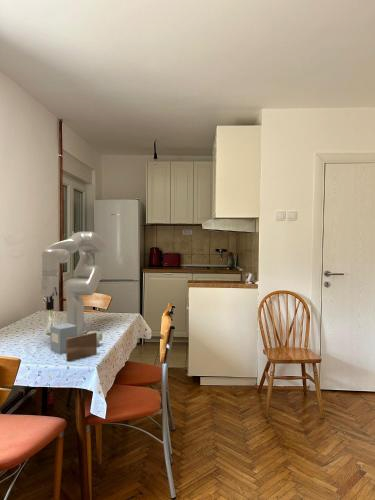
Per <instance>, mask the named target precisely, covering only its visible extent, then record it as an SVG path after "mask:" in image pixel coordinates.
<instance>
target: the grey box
mask: <svg viewBox="0 0 375 500" xmlns="http://www.w3.org/2000/svg"><path fill="white" fill-rule="evenodd" d="M76 336H78V335H77V326H76V325H72V324H69V323H67V322H66V323H60V324H55V325H50V351H51V352H53V353H56V354H58V355H63V353H64V354H66V338H71V337H76Z"/></svg>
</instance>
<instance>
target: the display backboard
mask: <svg viewBox="0 0 375 500" xmlns="http://www.w3.org/2000/svg"><path fill="white" fill-rule="evenodd" d="M97 348H98V347H97V333H96V332H94V333H90V334H87V333H85V334H81V335H77V336H76V337H71V338H66V353H65V354H66V356H65V359H66V362H71V361H75V360H79V359H82V358H86V357H90V356H93V355H97V354H98V352H97V351H98V350H97Z"/></svg>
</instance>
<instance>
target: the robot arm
mask: <svg viewBox="0 0 375 500" xmlns="http://www.w3.org/2000/svg"><path fill="white" fill-rule="evenodd" d="M106 245H107V244H106V241H105V240H104V238H102V237H101V236H100V235H99V234H98V233H96V232H94V231H77V232H76V233H74V234H73V235H70V237H68V238H67V239H64V240H61V241H58V242H55V243H53V244H51V245H49V246H47V247H46V248H44V250H42V251H41V252H42V253H41V261H42V262H41V265H42V266H41V270H42V271H41V273H42V274H41V281H40V295H41V296H42V297H44V298H45V302H46V303H45V305H46V306H45V307H46V308H45V310H47V311H50V310H54V309H55V308H54V307H55V304H54V303H55V300H56V299H57V297H58V295H59V280H58V276H59V264H66V263H67V262H69V260H71V254H75V253H76V252H78V254H79V261H77V262H78V263H77V265H76V266H75V269H74V271H73V277H74V278H69V279H68V280H66V282H64V290H65V291H64V292H65V297H66V298H65V299H66V323H69V324H72V325H76V326H77V336H80V335H85V334H87V332H88V330H87V329H86V328H85V303H84V299H83V297H82V296H92V295H94V293H95V292H96V290H97V288H98V286H99V283H100V280H101V277H102V270H101V267H100V266H99V265H96V264H94V262H95V261H94V258H93V257H92V256H91V254H92V253H96V254H98V253H100V254H101V253H103V252H105V250H106ZM90 253H91V254H90Z"/></svg>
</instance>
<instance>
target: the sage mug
mask: <svg viewBox="0 0 375 500" xmlns="http://www.w3.org/2000/svg"><path fill="white" fill-rule="evenodd" d="M94 332H96V333H97V348H98V347H100V342H101V341H103V332H100V331H99V330H89V331H87V332H86V334H90V333H94Z"/></svg>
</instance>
